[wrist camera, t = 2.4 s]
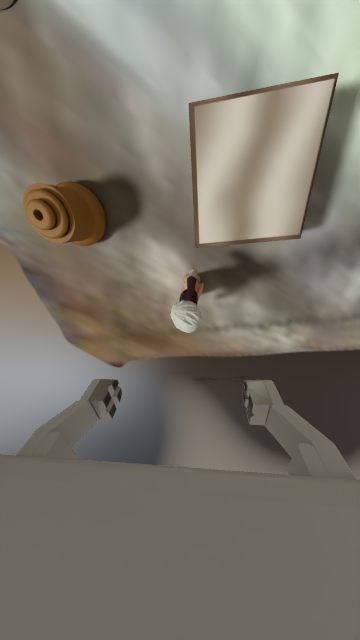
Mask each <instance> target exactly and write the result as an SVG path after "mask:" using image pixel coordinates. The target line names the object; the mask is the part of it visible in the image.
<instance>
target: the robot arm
mask: <svg viewBox="0 0 360 640" xmlns="http://www.w3.org/2000/svg"><path fill="white" fill-rule="evenodd" d="M118 384H119V383H118V380H111V379H94V380H93V381H92V382H91V384H90V385H89V387H88V388H87V390H86V391H85V393H84V394H83V396H82V397H81V399H80V400H79V401H76V402H75V403H73V404H72V405H70V406H69V407H68V408H66V409H65V410H63V411H62V412H61V413H59V414H58V415H56V416H55V417H54V418H52V419H51V420H49V421H48V422H46V423H45V424H44V425H42V426H41V427H39V428H38V429H37V430H36V431H35V432H34V433H33V435H32V436H31V437H30V439H29V440H28V441H27V442H26V443H25V445H24V446H23V447H22V449H21V450H20V451H19V452H18V454H17V455H3V454H0V640H360V480H357V479H356V478H355V477H354V475H353V474H352V472H351V470H350V469H349V467H348V465H347V464H346V462H345V461H344V459H343V457H342V456H341V454H340V452H339V451H338V449H337V448H336V446H335V444H333V443H332V442H331V441H330V440H329V439H327V438H326V437H325V436H324V435H322V434H321V433H320V432H319V431H318V430H316V429H315V428H314V427H313V426H311V425H310V424H309V423H308V422H307V421H305V420H304V419H303V418H302V417H300V416H299V415H298V414H297V413H295V412H294V411H293V410H292V409H291V408H289V407H288V406H284V404H283V402H282V400H281V398H280V395H279V394H278V391H277V389H276V387H275V385H274V383H273V381H272V380H245V381H244V387H245V388H244V389H243V400H244V405H245V406H246V407H247V416H248V420H249V424H252V425H265V426H266V428H267V429H268V430H269V431H270V432H271V433H272V435H273V436H274V437H275V438H276V439H277V440H278V442H279V443H280V444H281V445H282V446H283V448H284V449H285V450H286V451H287V452H288V453H289V455H290V456H291V457H292V460H291V462H290V464H289V466H288V468H287V471H288V474H289V475H286V474H272V473H258V472H244V471H230V470H215V469H202V468H187V467H173V466H159V465H145V464H130V463H116V462H102V461H88V460H75V459H76V457H77V453H76V452H75V451H74V449H73V446H74V445H75V444H76V443H77V442H78V441H79V440H80V439H81V438H82V437H83V436H84V435H85V434H86V433H87V432H88V431H89V430H90V429H91V428H92V427H93V426H94V425H95V424H96V423H97V422H98V421H99V419H112V418H113V416H114V414H115V412H116V405H117V404H118V403H119V402H120V400H121V396H122V390H121V388H120V387H119V386H118Z"/></svg>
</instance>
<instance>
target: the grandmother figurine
mask: <svg viewBox="0 0 360 640" xmlns="http://www.w3.org/2000/svg"><path fill="white" fill-rule="evenodd" d="M200 281H201V279H200V276H199V275H197V270H196V269H191V270H190V272H189V274H188V275H185V276H184V283H185V288H184V289H183V290H182V294H181V296H180V302H179V303H176V304H175V305H174V306H173V307H172V311H171V318H172V320H173V322H174V324H175V326H176V327H177V328H178V329H180V330H182V331H184V332H187V333H191V332H193V331H195V330H196V329H197V327H198V325H199V323H200V321H201V312H200V310H199V307H198V306H197V302H198V299H199V297H200V295H201V293H202V291H203V287H204V284H203V283H200Z"/></svg>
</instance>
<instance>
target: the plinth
mask: <svg viewBox="0 0 360 640" xmlns="http://www.w3.org/2000/svg"><path fill="white" fill-rule="evenodd" d="M338 74H339V73H335V74H330V75H325V76H320V77H315V78H310V79H305V80H300V81H295V82H291V83H286V84H281V85H276V86H271V87H266V88H261V89H256V90H251V91H246V92H241V93H236V94H232V95H227V96H222V97H217V98H212V99H207V100H202V101H197V102H192V103H189V120H190V141H191V162H192V183H193V205H194V226H195V247H196V248H200V247H211V246H222V245H233V244H245V243H256V242H267V241H278V240H289V239H300V238H301V234H302V229H303V225H304V221H305V216H306V212H307V208H308V203H309V199H310V195H311V190H312V186H313V182H314V178H315V173H316V169H317V165H318V160H319V156H320V152H321V147H322V143H323V139H324V134H325V130H326V126H327V121H328V117H329V113H330V109H331V104H332V100H333V96H334V91H335V87H336V83H337V78H338Z"/></svg>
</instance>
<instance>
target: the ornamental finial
mask: <svg viewBox="0 0 360 640" xmlns="http://www.w3.org/2000/svg"><path fill="white" fill-rule="evenodd" d="M23 205H24V211H25V214H26V216H27V219H28V221H29V222H30V224H31V226H32V227H33V228H34V230H35V231H36V232H37V233H38V234H39V235H41V236H42V237H43V238H45V239H46V240H48V241H51V242H54V243H66V242H72V243H74V244H77V245H81V246H89V245H93V244H95V243H96V242H98V241H99V240H100V239H101V238H102V236H103V234H104V231H105V226H106V220H105V214H104V211H103V208H102V206H101V204H100V202H99V201H98V199H97V198H96V197H95V195H94V194H93V193H92V192H91V191H90V190H88V189H87V188H86V187H84V186H82V185H80V184H78V183H74V182H62V183H59V184H58V185H56V186H54V185H48V184H42V183H37V184H33V185H31V186H30V187H28V188H27V190H26V192H25V194H24V199H23Z"/></svg>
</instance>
